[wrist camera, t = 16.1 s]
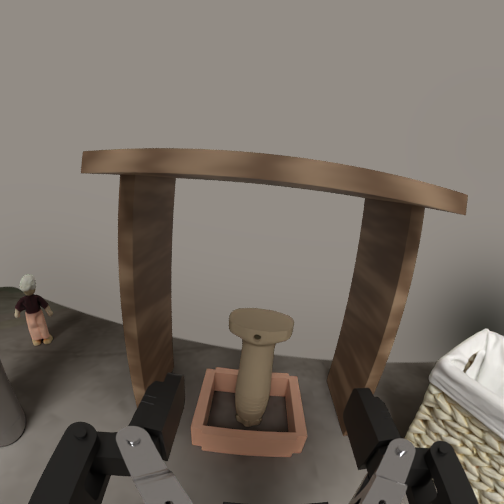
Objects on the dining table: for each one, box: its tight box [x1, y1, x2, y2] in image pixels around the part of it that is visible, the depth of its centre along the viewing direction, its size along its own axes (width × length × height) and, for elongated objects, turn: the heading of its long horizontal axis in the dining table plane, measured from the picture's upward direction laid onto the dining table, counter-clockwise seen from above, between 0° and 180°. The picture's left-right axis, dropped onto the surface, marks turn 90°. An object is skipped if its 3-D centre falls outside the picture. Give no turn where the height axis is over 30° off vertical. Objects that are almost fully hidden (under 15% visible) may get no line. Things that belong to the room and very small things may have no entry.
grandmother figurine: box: [15, 274, 53, 346], centre depth 35 cm, size 8×4×13 cm, turn 140°
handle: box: [229, 308, 294, 427], centre depth 29 cm, size 5×6×15 cm
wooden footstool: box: [81, 148, 468, 436], centre depth 27 cm, size 27×18×30 cm, turn 88°
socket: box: [191, 367, 307, 457], centre depth 30 cm, size 12×12×4 cm
